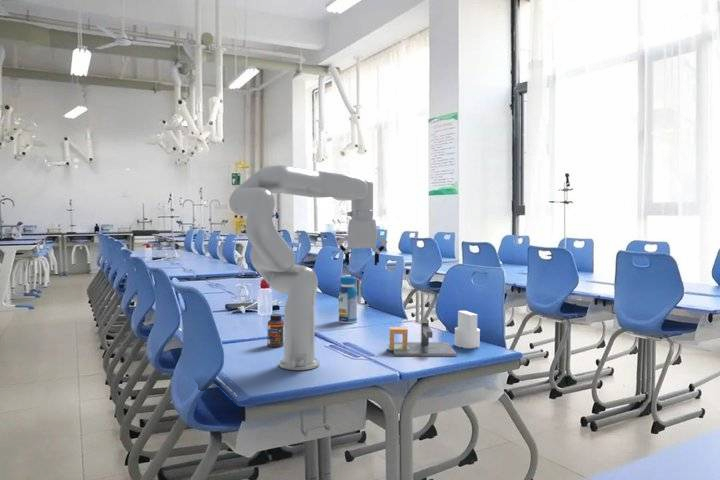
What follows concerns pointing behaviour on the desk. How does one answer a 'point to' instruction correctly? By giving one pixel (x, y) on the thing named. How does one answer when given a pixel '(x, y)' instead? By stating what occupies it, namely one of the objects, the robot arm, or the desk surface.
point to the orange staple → (398, 331)
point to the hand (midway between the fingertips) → (361, 264)
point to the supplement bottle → (275, 331)
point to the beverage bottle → (347, 300)
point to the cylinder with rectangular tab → (467, 330)
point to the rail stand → (423, 345)
